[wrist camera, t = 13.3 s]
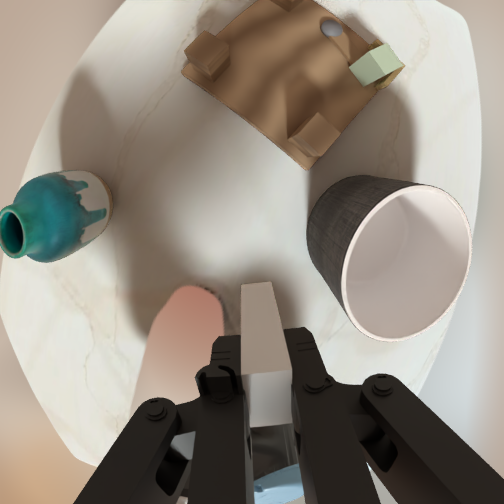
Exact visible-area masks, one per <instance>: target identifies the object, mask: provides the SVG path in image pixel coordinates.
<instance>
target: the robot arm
mask: <svg viewBox="0 0 504 504" xmlns="http://www.w3.org/2000/svg"><path fill="white" fill-rule="evenodd" d="M195 380H196V383H197V386H198V390H199V393H200V397H199V398H197V399H195V400H193V401H190V402H187V403H183V404H178V405H175V404H174V403H173V402H172V401H171V400H169V399H166V398H152V399H149V400H147V401H145V402H143V403H142V404H141V405H140V406H139V407H138V409H137V410H136V412H135V413H134V415H133V416H132V417H131V419H130V420H129V422H128V423H127V425H126V426H125V428H124V429H123V431H122V432H121V434H120V435H119V437H118V438H117V439H116V441H115V442H114V444H113V445H112V447H111V448H110V450H109V451H108V453H107V454H106V456H105V457H104V459H103V460H102V462H101V463H100V464H99V466H98V467H97V469H96V470H95V472H94V474H93V475H92V476H91V478H90V479H89V481H88V482H87V484H86V485H85V487H84V488H83V490H82V491H81V493H80V494H79V496H78V497H77V499H76V500H75V502H74V503H73V504H284V503H287V502H290V501H293V500H295V499H297V498H299V497H301V496H303V495H304V496H305V503H306V504H381V503H380V500H379V497H378V494H377V491H376V489H375V485H374V483H373V480H372V477H371V474H370V471H369V468H368V465H367V463H368V464H369V466H370V467H371V469H372V470H373V471H374V472H375V474H376V475H377V477H378V478H379V479H380V481H381V482H382V483H383V484H384V486H385V487H386V489H387V490H388V491H389V492H390V494H391V495H392V496H393V498H394V499H395V500H396V502H397V503H398V504H504V479H503V478H502V477H501V476H500V475H499V474H498V473H497V472H496V471H495V470H494V469H493V468H492V467H490V465H489V464H487V463H486V462H485V461H484V460H483V459H482V458H481V457H480V456H479V455H478V454H477V453H476V452H475V451H474V450H473V449H472V448H471V447H469V445H468V444H466V443H465V442H464V441H463V440H462V439H461V438H460V437H459V436H458V435H457V434H456V433H455V432H454V431H453V430H452V429H451V428H450V427H449V426H448V425H446V424H445V423H444V422H443V421H442V420H441V419H440V418H439V417H438V416H437V415H436V414H435V413H434V412H433V411H432V410H431V409H430V408H428V407H427V406H426V405H425V404H424V403H423V402H422V401H421V400H420V399H419V398H418V397H417V396H416V395H415V394H414V393H413V392H411V391H410V390H409V389H408V388H407V387H406V386H405V385H404V384H403V383H402V382H401V381H400V380H399V379H397V378H396V377H394V376H392V375H388V374H375V375H372V376H370V377H368V378H367V379H365V381H364V383H363V384H362V385H348V384H342V383H339V382H336V381H335V380H334V378H333V377H332V376H330V375H328V373H327V371H326V369H325V366H324V363H323V361H322V358H321V355H320V353H319V350H318V348H317V345H316V343H315V340H314V337H313V335H312V333H311V332H310V331H309V330H307V329H306V328H305V327H300V328H292V329H284V330H283V328H282V324H281V320H280V316H279V312H278V307H277V303H276V299H275V295H274V291H273V287H272V282H261V283H251V284H241V335H231V336H219V337H218V338H217V339H216V340H215V342H214V343H213V346H212V354H211V361H210V364H209V365H207V366H205V367H203V368H202V369H200V370H199V371H198V372H197V374H196V376H195ZM366 462H367V463H366Z"/></svg>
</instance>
